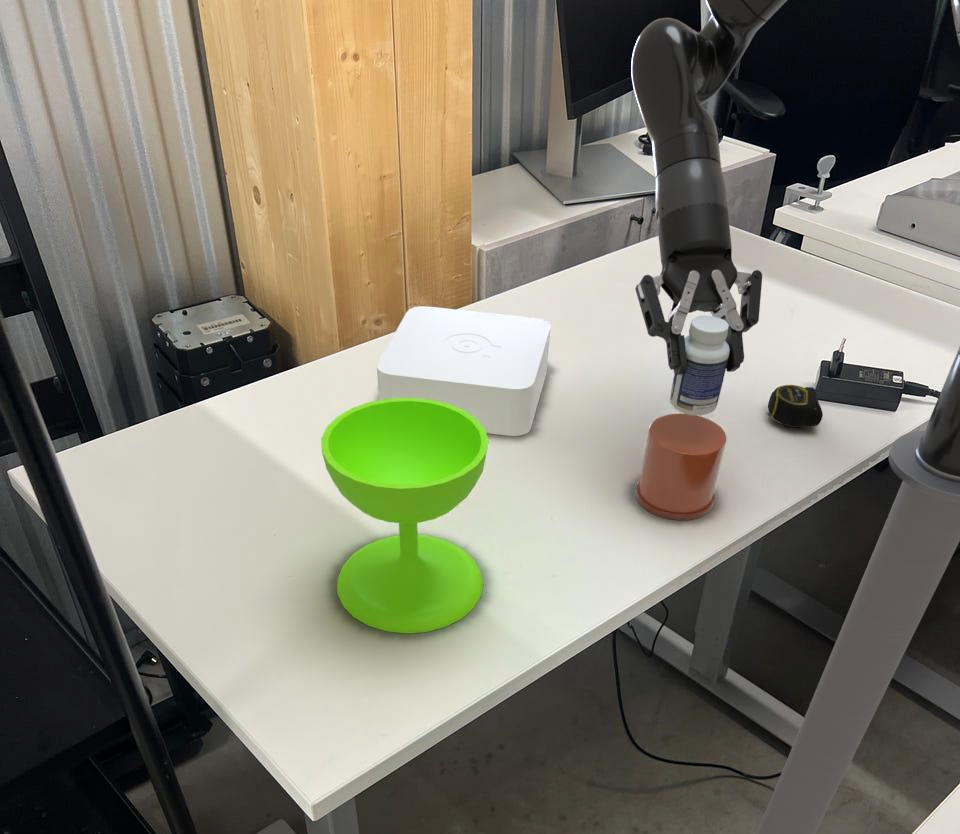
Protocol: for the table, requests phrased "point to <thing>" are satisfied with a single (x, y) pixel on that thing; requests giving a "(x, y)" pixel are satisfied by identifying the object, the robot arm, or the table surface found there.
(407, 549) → the wineglass
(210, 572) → the table surface
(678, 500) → the tumbler
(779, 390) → the tape measure
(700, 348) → the pill bottle
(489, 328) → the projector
